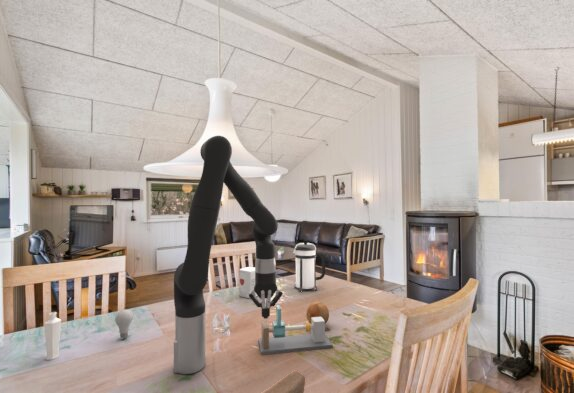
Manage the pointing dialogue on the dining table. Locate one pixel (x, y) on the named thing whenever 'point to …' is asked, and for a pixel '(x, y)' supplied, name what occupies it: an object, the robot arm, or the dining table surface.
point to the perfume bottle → (52, 336)
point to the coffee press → (307, 266)
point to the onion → (317, 311)
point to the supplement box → (246, 281)
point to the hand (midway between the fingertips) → (265, 317)
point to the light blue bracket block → (278, 324)
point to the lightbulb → (124, 322)
